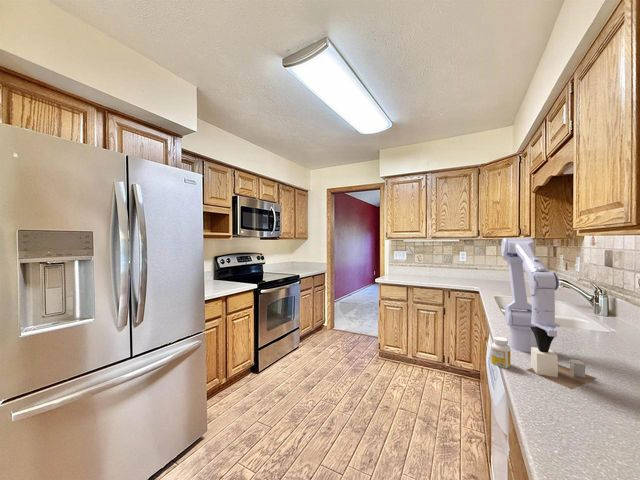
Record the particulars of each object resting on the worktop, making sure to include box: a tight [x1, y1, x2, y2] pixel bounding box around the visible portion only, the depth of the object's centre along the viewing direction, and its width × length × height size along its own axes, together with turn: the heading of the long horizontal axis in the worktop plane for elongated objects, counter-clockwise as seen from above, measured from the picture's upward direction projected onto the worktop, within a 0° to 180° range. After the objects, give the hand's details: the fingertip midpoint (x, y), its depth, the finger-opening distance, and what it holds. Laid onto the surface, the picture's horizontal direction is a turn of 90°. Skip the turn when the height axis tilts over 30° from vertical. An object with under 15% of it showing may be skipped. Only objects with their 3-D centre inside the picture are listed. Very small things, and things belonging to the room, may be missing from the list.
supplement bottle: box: [490, 336, 511, 369], centre depth 91 cm, size 5×5×10 cm
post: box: [569, 359, 586, 379], centre depth 83 cm, size 3×3×4 cm
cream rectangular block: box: [530, 347, 559, 377], centre depth 86 cm, size 5×5×7 cm
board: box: [526, 364, 597, 390], centre depth 84 cm, size 14×12×1 cm
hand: (543, 351), depth 86 cm, fingers closed
